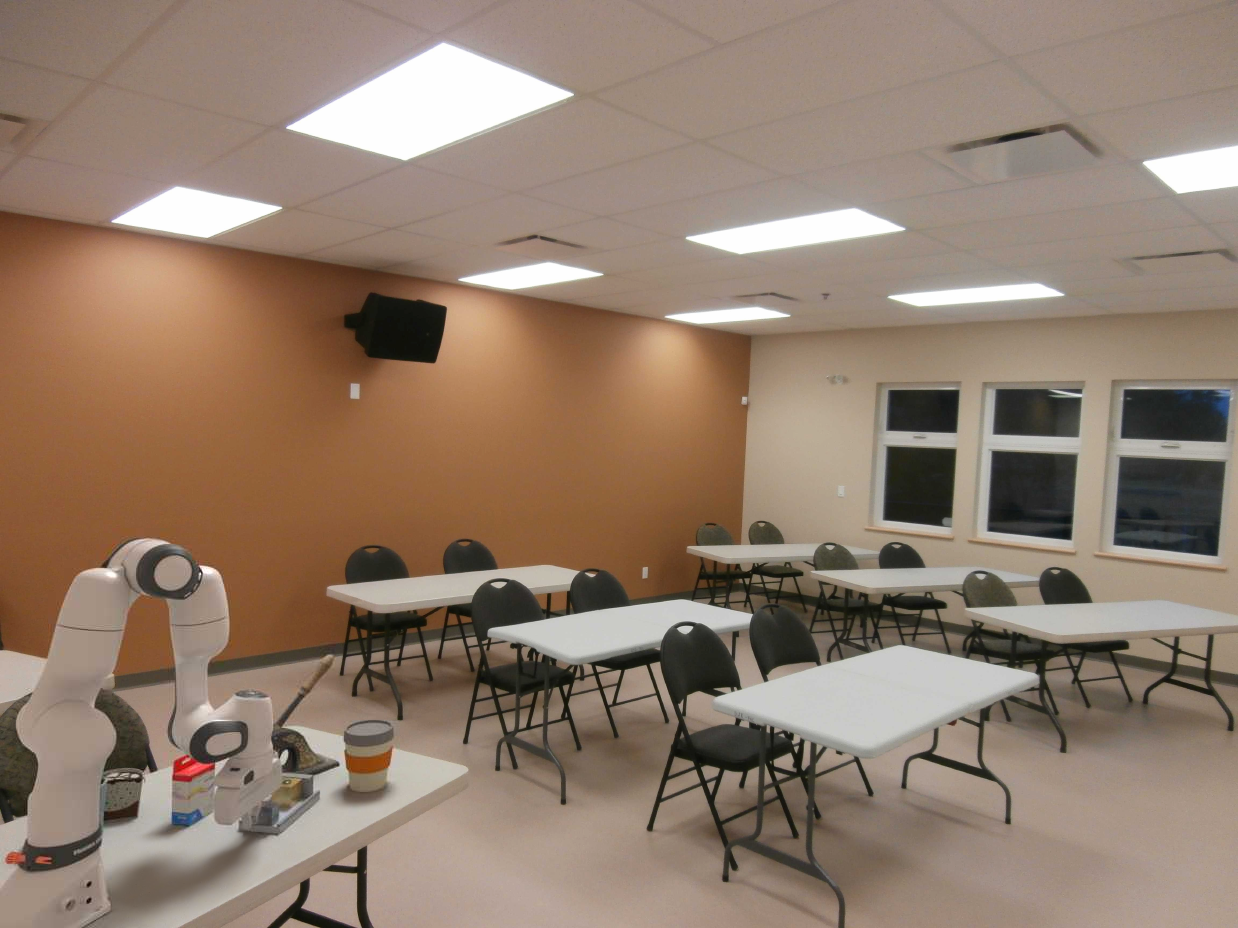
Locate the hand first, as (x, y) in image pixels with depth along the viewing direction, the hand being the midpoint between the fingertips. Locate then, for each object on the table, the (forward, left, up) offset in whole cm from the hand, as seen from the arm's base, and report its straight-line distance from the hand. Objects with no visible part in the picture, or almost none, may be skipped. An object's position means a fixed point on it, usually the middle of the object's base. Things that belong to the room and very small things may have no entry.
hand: (250, 825), depth 174 cm
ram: (+6, 0, -2) cm, 6 cm away
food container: (+6, +37, -3) cm, 38 cm away
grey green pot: (-5, +37, -3) cm, 38 cm away
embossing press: (+35, +9, -4) cm, 36 cm away
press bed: (+13, 0, -3) cm, 13 cm away
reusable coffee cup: (+32, -13, -3) cm, 34 cm away
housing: (+15, 0, -2) cm, 15 cm away
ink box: (+8, +19, -3) cm, 21 cm away
